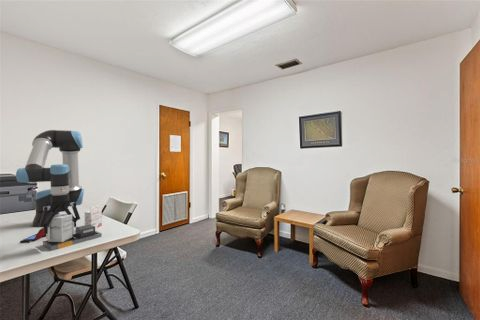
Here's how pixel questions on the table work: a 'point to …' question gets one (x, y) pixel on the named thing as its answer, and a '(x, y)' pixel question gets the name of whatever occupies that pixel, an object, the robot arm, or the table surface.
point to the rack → (69, 241)
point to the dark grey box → (85, 231)
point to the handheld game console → (34, 237)
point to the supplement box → (60, 228)
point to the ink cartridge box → (94, 217)
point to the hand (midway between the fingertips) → (60, 236)
